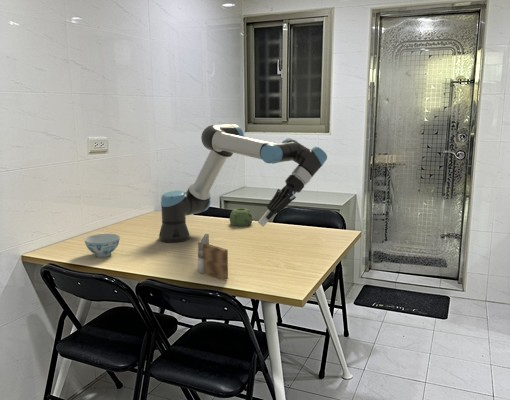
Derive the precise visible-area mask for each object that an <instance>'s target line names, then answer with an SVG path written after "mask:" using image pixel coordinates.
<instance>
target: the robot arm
mask: <svg viewBox="0 0 510 400" xmlns="http://www.w3.org/2000/svg"><path fill="white" fill-rule="evenodd" d="M200 139H201V143H202V145H203V146H204V147H205V149H207V150H208V151H209V153H208V156H207V157H206V159H205V161H204V163H203V165H202V167H201V170H200V172H199V173H198V175H197V178H196V180H195V181H194V183H192V184H190V185H189V186H188V188H187V190H186V192H184V191H183V190H174V191H173V190H171V191H167V192H165V193H163V194H162V195H161V198H160V199H161V201H160V206H161V227H160V230H159V234H158V240H159V241H160V242H164V243H180V242H185V241H188V240H189V239H190V235H191V234H190V232H189V229H188V226H187V223H186V220H187V219H186V218H187V216H191V215H192V216H193V215H196V214H201V213H203V212H205V211H207V210H208V209H209V208H210V206H211V204H212V203H211V202H212V199H211V192H210V191H211V189H212V187H213V185H214V183H215V181H216V180H217V178H218V177H219V174H220V172H221V170H222V169H223V166H224V164H225V163H226V161H227V159H228V158H231V157H232V156H233V154H236V155H240V156H245V157H250V158H253V159H258V160H262V161H263V162H264V163H265V164H272V165H273V164H279V163H284V162H290V161H293V163H294V162H295V163H296V164H298V165H296V167H295V168H294V169H293V171H292V172H291V174H290V175H288V177H287V178H286V179H285V181H284V182H285V185H284V186H283V187H282V188H281V189H280V188H278V189H277V190H276V192H275V194H274V195H273V196H272V198H271V200H270V202H269V203H268V204H267V206H266V208H267V210H266V211H265V213H264V214H263V215H262V216H261V217H260V219H258V221H257V223H258V224H259V225H260V226H261V227H265V226H266V225H267V224H268V222H269V221H270V220H271V219H272V218H273V216H274V215H276V214H277V215H279V214H280V213H281V212H282V211H283V210H284V209H285V208H286V207H287V206H288V205H289V204H291V202H293V201H295V200H296V196H295V194H296V193H301V191H302V190H303V189H304V188H305V186H306V185H308V183H309V182H310V181H311V180H312V178H313V177H314V176H315V174H316V173H317V172H318V171H319V170H320V169H321V167H323V166H324V164H325V163H326V161H327V160H328V155H327V153H326V152H325V151H324V150H323V149H322V148H320V147H318V146H313V147H312V148H311V149H310V148H308V147H306V146H304V145H303V144H301V143H299V142H298V141H297V140H296V139H292V138H290V137H289V138H285V139H284V140H282V142H281V143H275V142H269V141H264V140H260V139H255V138H251V137H250V138H249V137H246V136H245V135H244V131H243V129H242V128H241V127H240V126H239V125H237V124H233V123H228V124H211V125H208V126H207V127H205V128H204V129H203V131H202V132H201V138H200Z"/></svg>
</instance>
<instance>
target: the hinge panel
mask: <svg viewBox="0 0 510 400" xmlns="http://www.w3.org/2000/svg"><path fill="white" fill-rule="evenodd" d="M200 242H205V243H206V244H210V234H209V233H204V234H203V236H202V239H201V240H200ZM197 259H198V261H197V262H198V266H197V267H198V273H199V274H205V273H204V258H199V257H198V256H197Z"/></svg>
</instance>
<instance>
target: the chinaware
mask: <svg viewBox="0 0 510 400" xmlns="http://www.w3.org/2000/svg"><path fill="white" fill-rule="evenodd" d="M120 239H121V236H120V235H119V234H116V233H98V234H97V233H96V234H93V235H89V236H87V237H85V238H84V244H85V246H86V247H87V249H88V250H89V251H90V252H91V253H92V254H94V255H95V257H97V258H98V257H99V258H105V257H109V256H112V253H113V252H114V251H115V250H116V249H117V248H118V246H119V243H120Z"/></svg>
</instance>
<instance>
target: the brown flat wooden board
mask: <svg viewBox="0 0 510 400" xmlns="http://www.w3.org/2000/svg"><path fill="white" fill-rule="evenodd" d="M197 253H198V254H197V258H198V257H199V258H204V273H203V274H207V275H210V276H212V277H213V276H214V277H215V278H218V279H220V280H224V281H226V280H228V279H229V267H228V266H229V265H228V262H229V259H228V258H229V257H228V256H229V255H228V253H229V252H228V249H226V248H223V247H220V246H218V245H217V246H216V245H213V244H210V243H209V244H206V243H205V242H201V241H199V242H197Z"/></svg>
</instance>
